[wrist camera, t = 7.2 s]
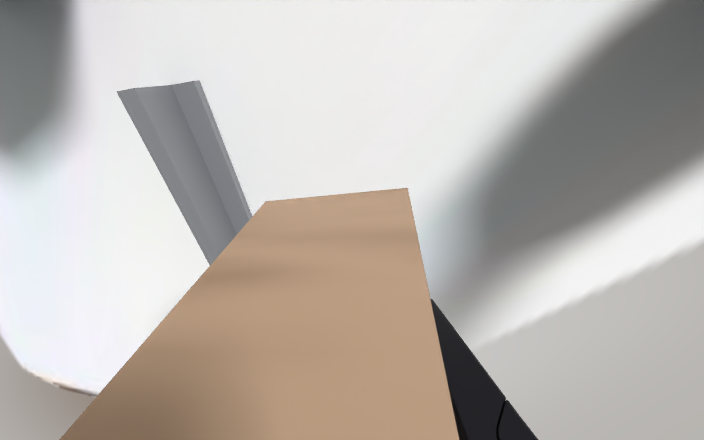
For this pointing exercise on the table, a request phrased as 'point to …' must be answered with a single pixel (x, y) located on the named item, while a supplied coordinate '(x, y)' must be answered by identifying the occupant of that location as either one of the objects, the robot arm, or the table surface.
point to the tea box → (293, 337)
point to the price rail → (191, 160)
